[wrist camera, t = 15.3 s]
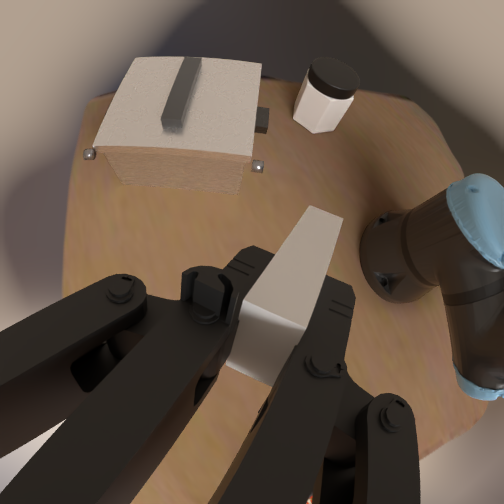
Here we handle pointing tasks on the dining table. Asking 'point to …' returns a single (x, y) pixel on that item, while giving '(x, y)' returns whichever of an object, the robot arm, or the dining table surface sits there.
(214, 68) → the lid
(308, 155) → the dining table surface
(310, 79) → the jar
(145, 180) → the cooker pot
